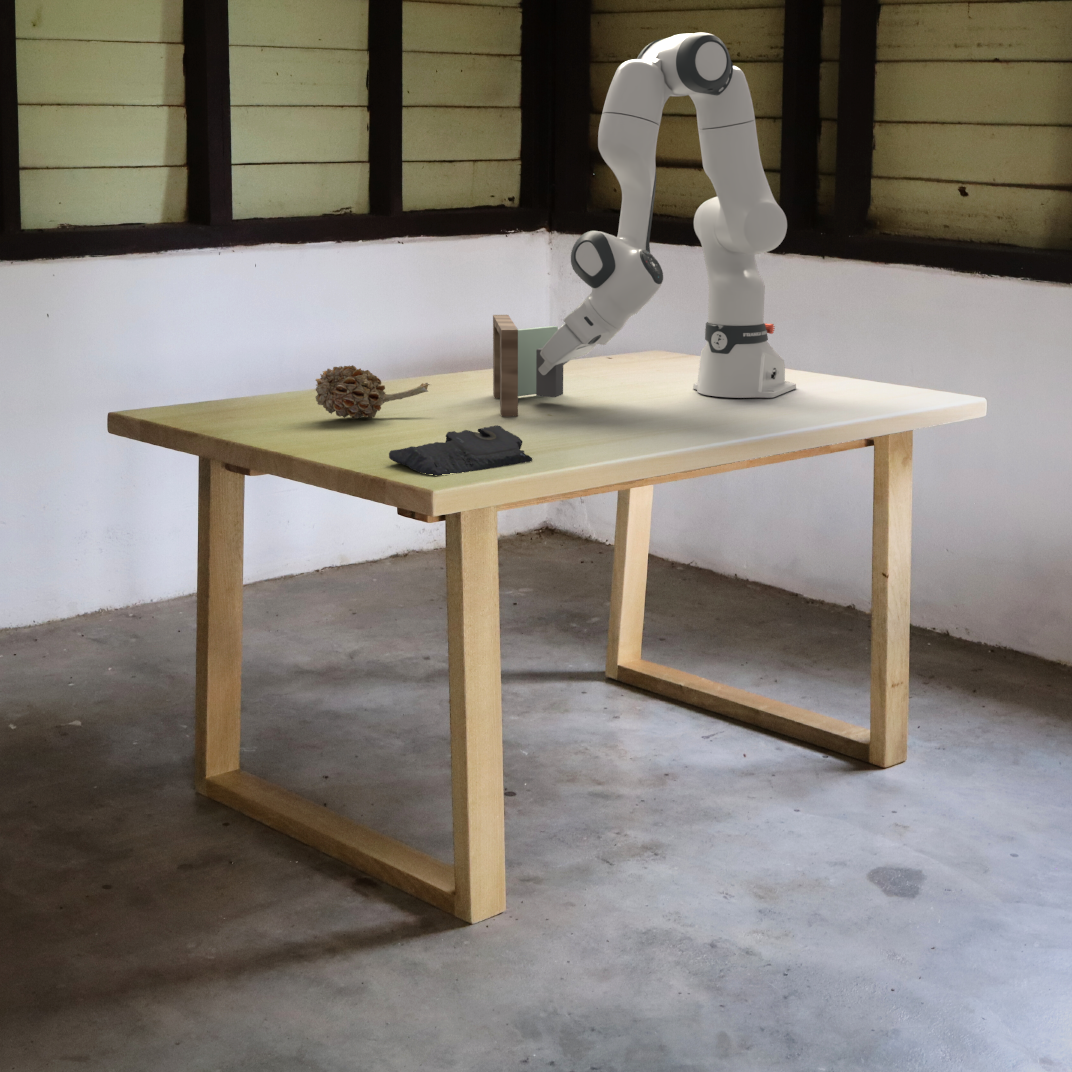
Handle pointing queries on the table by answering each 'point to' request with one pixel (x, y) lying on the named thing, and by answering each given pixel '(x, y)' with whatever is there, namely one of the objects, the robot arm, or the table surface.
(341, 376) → the dried seed pod
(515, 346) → the door frame
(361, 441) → the table surface
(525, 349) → the door
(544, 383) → the gray rectangular block
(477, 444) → the dark slate chunk
